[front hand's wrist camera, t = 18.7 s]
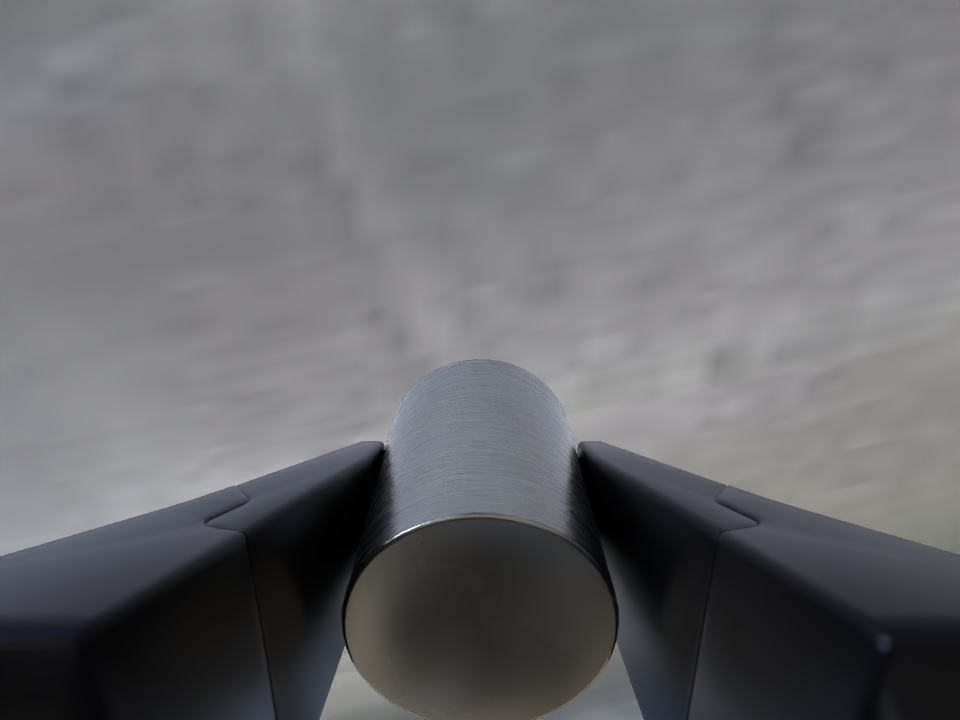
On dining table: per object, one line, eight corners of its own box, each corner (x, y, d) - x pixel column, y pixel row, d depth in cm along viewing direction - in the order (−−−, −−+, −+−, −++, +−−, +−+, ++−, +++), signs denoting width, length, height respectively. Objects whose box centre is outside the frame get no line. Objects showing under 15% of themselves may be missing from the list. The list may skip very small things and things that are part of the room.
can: (595, 477, 13) (658, 680, 8) (439, 538, 13) (419, 760, 9) (526, 328, 12) (555, 471, 7) (358, 402, 12) (287, 577, 8)
